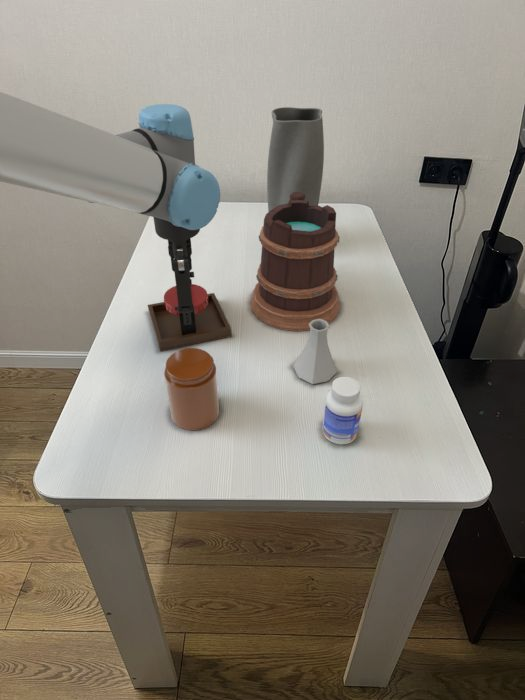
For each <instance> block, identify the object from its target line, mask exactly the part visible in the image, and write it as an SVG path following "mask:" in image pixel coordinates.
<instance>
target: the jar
mask: <svg viewBox="0 0 525 700" xmlns="http://www.w3.org/2000/svg"><path fill="white" fill-rule="evenodd" d="M214 361H215V360H214V358H213V356H212V355H211V354H210V353H209V352H207V351H206V350H205V349H201V348H196V347H187V348H182V349H178V350H176V351H175V352H173V353H171V354H170V356H169V357H168V358H167V359H166V361H165V368H164V372H163V373H164V374H163V375H164V380H165V381H164V382H165V386H166V392H167V393H166V394H167V399H168V404H169V405H168V406H169V410H170V416H171V420H172V421H173V423H174V424H175V425H176V426H177V427H179V428H180V429H183V430H187V431H200V430H203V429H207V428H208V427H211V426H212V425H213V424H214V423H215V422H216V421H217V419H218V417H219V415H220V401H219V390H218V389H219V387H218V376H217V375H218V374H217V365H216V364H215V362H214Z"/></svg>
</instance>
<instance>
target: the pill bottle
mask: <svg viewBox="0 0 525 700" xmlns="http://www.w3.org/2000/svg"><path fill="white" fill-rule="evenodd" d="M324 401H325V402H324V410H323V411H324V412H323V419H322V428H321V429H322V434H323V436H324V437H325V438H326V439H327V440H328V441H329V442H331V443H333V444H336V445H348V444H351V443H352V442H353V441H355V439H356V438H357V436H358V433H359V428H360V424H361V423H360V422H361V416H362V413H363V407H364V399H363V396H362V394H361V385H360V383H359V382H358V380H356V379H354V378H353V377H349V376H339V377H337V378H335V379H334V380H333V382H332V384H331V388H330V390H329V391H328V392H327V393H326V396H325V400H324Z"/></svg>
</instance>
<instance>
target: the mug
mask: <svg viewBox="0 0 525 700" xmlns="http://www.w3.org/2000/svg"><path fill="white" fill-rule="evenodd" d="M264 215H265V216H264V217H263V218H264V219H263V225H262V227H261V229H260V231H259V235H258V240H259V242H260V244H261V255H260V264H259V266H258V269H257V273H256V276H255V277H256V280H257V283H256V284H255V285H254V289H253V291H252V295H251V299H250V302H249V304H250V309H251V312H252V313H253V314H254V315H255V317H256V318H257V319H258V320H259V321H261V322H263V323H264V324H266V325H267V326H271V327H273V328H276V329H279V330H284V331H285V330H286V331H293V332H300V331H301V332H303V331H310V327H309V323H310V322H311V321H313V320H316V319H322V320H324V321H327V322H328V324H330V323H331V322H333V321H334V320H335V319H336V318H337V316H338V315H339V314H340V308H341V307H340V305H341V304H340V303H341V301H340V299H339V292H338V290H337V288H336V286H335V285H336V282H337V281H338V276H339V275H338V274H337V270H336V268H335V249H336V247H337V246H338V244H339V242H340V236H339V232H338V230H337V229H336V228H337V227H336V222H337V212H336V210H335V208H334V207H332V206H330V205H328V204H327V205H324V206H321V205H318V206H309V201H308V200H305V195H304V194H303V193H302V192H293V193H292V194H291V195H290V200H289V202H288V204H283V205H278V206H277V207H275V208H274V209H272V210H271V211H270V212H268V211H267V213H266V214H264Z"/></svg>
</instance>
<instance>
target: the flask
mask: <svg viewBox="0 0 525 700" xmlns="http://www.w3.org/2000/svg"><path fill="white" fill-rule="evenodd" d="M309 327H310V330H309V335H308V338H307V341H306V343H305V345H304V347H303V348H302V350H301V352H300V353H299V356H298V357H297V358H296V360H295V362H294V363H293V365H292V367H293V369H294V371H295V373H296V375H297V377H298V378H300V379H301V380H303V381H305V382H307V383H309V384H311V385H315V384H320V383H326V382H329V381H330V380H331V379H333V377H334V376H335V375H336V374H337V373H338V371H337V367H336V365H335V362H334V359H333V357H332V356H333V355H332V354H331V351H330V350H331V349H330V347H329V343H328V342H329V341H328V330H329V329H330V327H331V325H330V323H328V322H327V321H324V320H322V319H316V320H313V321H311V322H310V323H309Z"/></svg>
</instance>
